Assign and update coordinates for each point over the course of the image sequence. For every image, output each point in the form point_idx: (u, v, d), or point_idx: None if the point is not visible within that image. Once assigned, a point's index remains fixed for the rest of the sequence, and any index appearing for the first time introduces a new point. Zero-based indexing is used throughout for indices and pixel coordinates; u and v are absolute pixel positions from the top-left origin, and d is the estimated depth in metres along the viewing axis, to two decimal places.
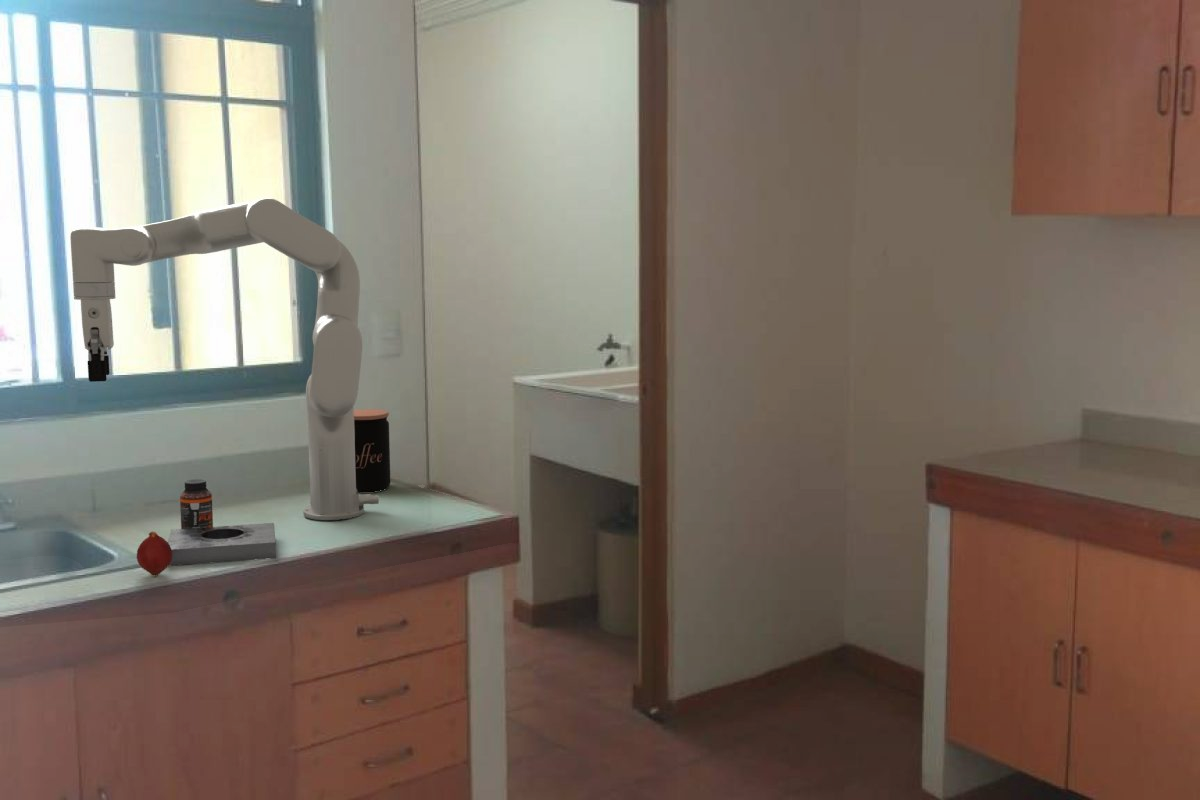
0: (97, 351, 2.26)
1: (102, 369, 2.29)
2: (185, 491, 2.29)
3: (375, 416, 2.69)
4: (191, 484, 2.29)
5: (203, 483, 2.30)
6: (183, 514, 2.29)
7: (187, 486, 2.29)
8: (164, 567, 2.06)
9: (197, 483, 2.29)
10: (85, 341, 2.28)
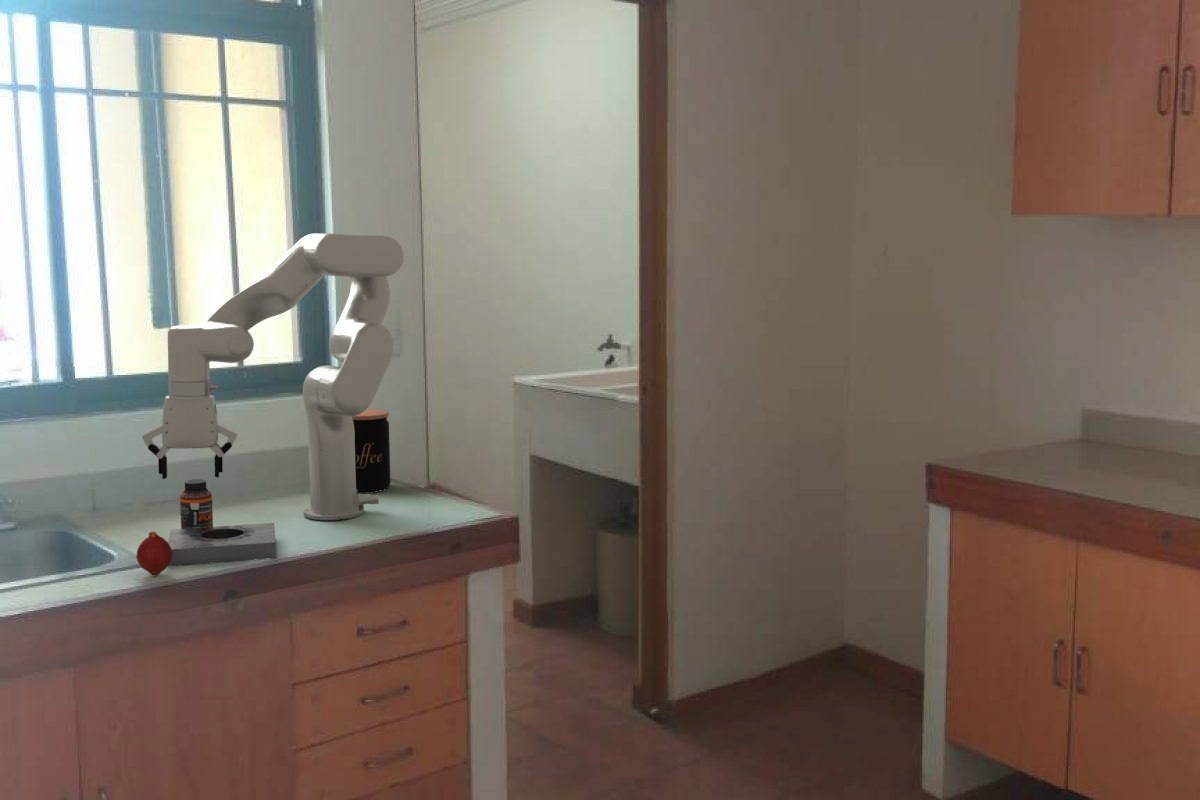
0: None
1: None
2: (185, 491, 2.29)
3: (375, 416, 2.69)
4: (191, 484, 2.29)
5: (203, 483, 2.30)
6: (183, 514, 2.29)
7: (187, 486, 2.29)
8: (164, 567, 2.06)
9: (197, 483, 2.29)
10: (216, 438, 2.29)
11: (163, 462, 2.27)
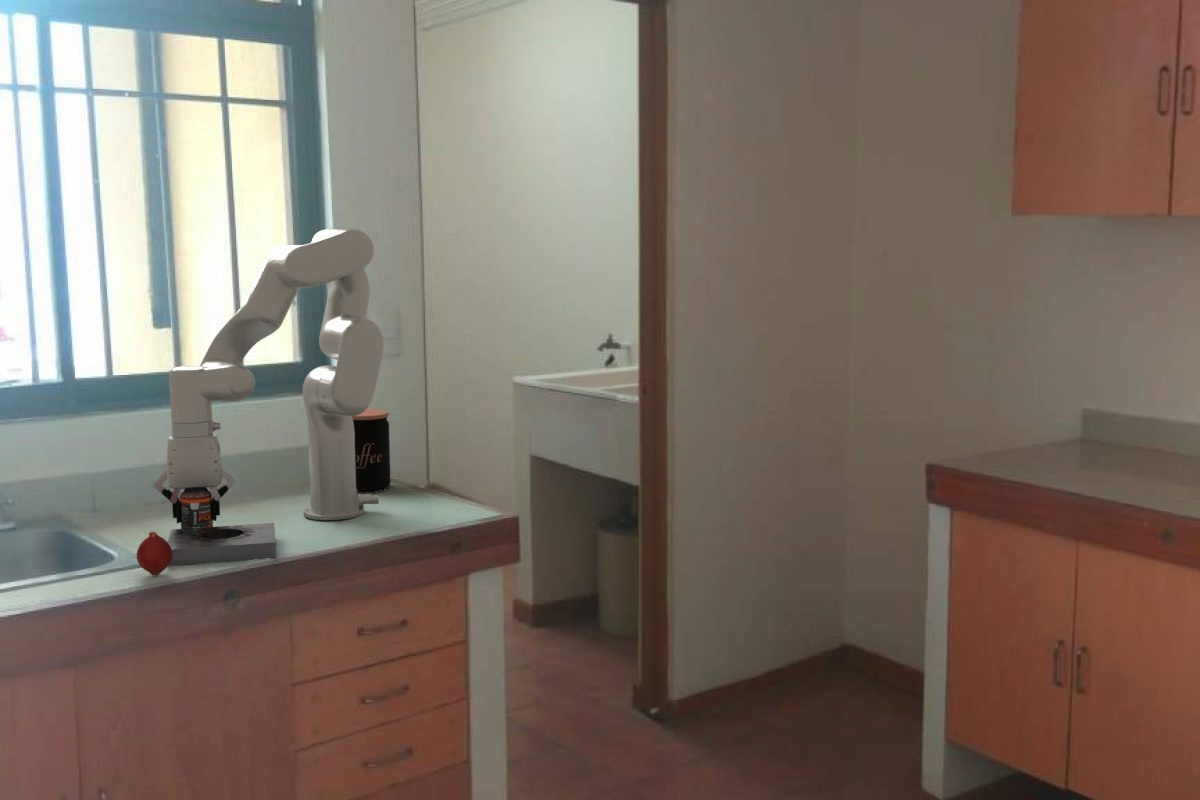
0: None
1: None
2: (185, 491, 2.29)
3: (375, 416, 2.69)
4: None
5: None
6: (183, 514, 2.29)
7: None
8: (164, 567, 2.06)
9: None
10: (220, 477, 2.30)
11: (177, 507, 2.29)
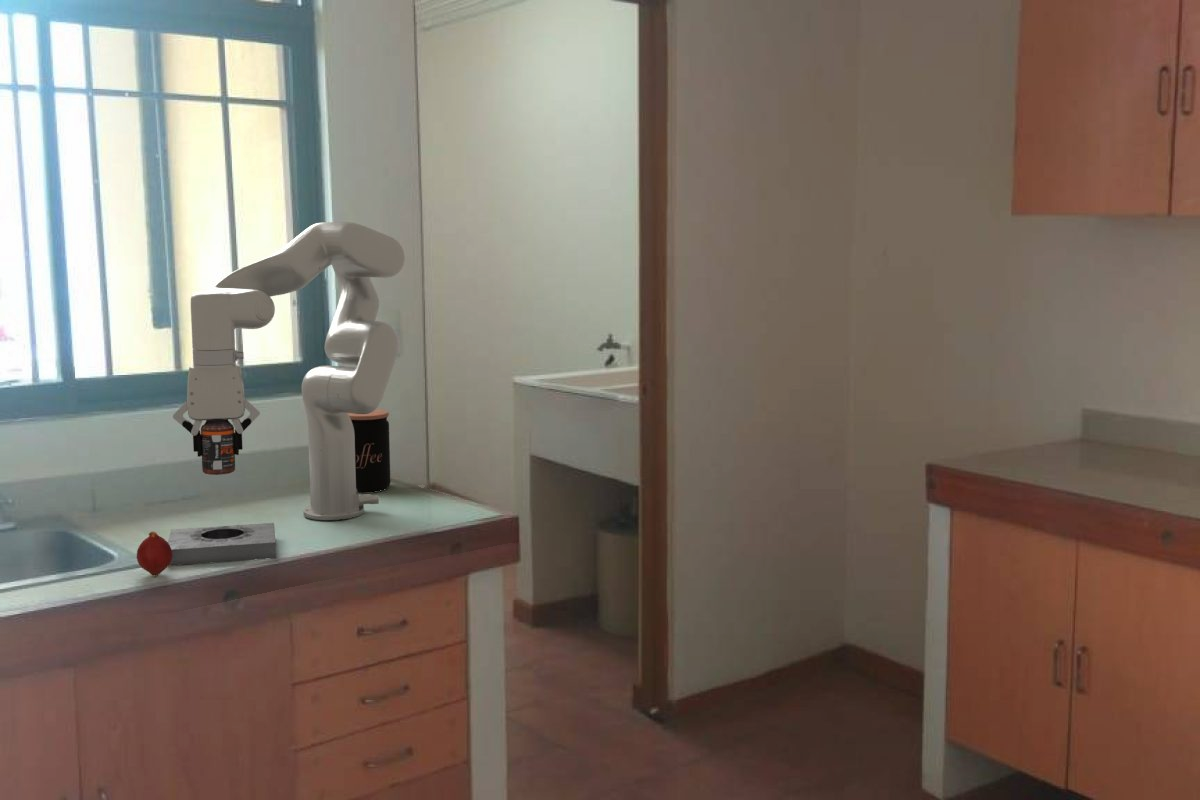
0: None
1: None
2: (206, 423, 2.19)
3: (375, 416, 2.69)
4: None
5: None
6: (204, 447, 2.18)
7: None
8: (164, 567, 2.06)
9: None
10: (243, 409, 2.19)
11: (198, 439, 2.18)
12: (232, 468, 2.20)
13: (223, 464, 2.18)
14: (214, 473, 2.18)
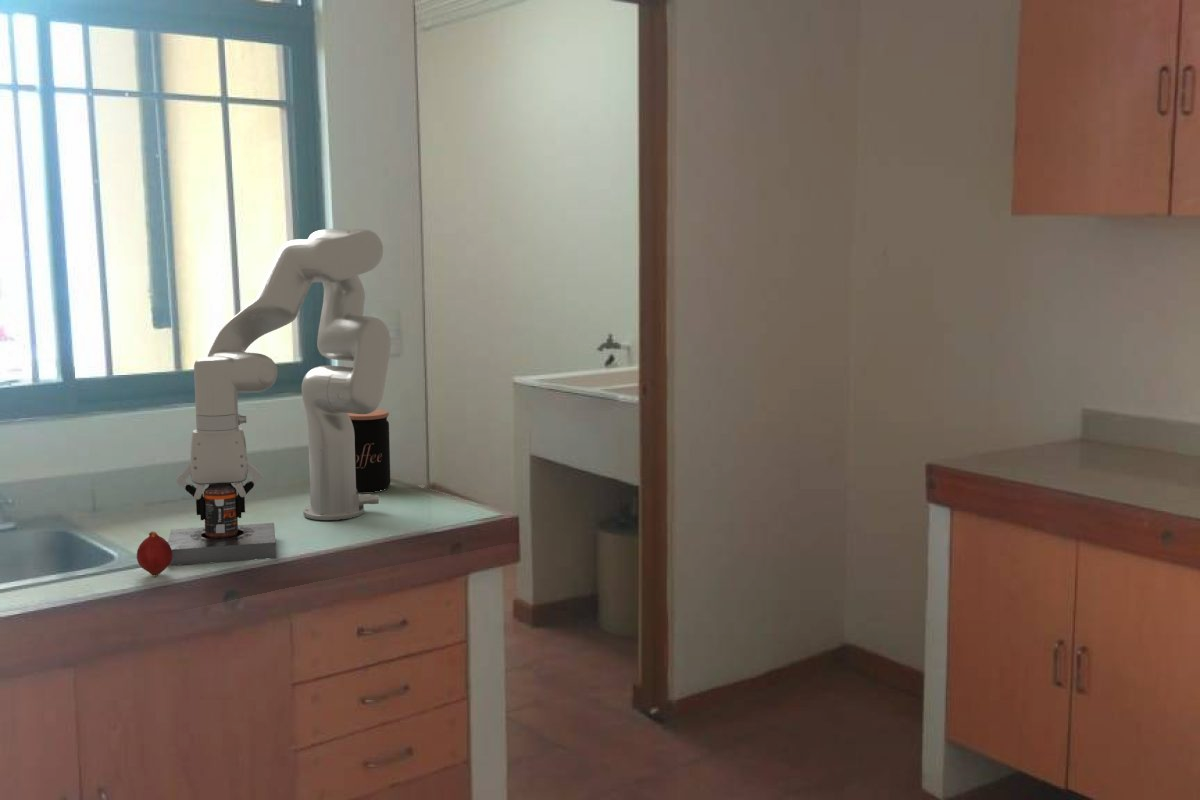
0: None
1: None
2: (209, 487, 2.20)
3: (375, 416, 2.69)
4: None
5: None
6: (207, 510, 2.20)
7: None
8: (164, 567, 2.06)
9: None
10: (246, 472, 2.21)
11: (201, 503, 2.20)
12: (235, 531, 2.22)
13: (225, 527, 2.20)
14: (217, 537, 2.20)
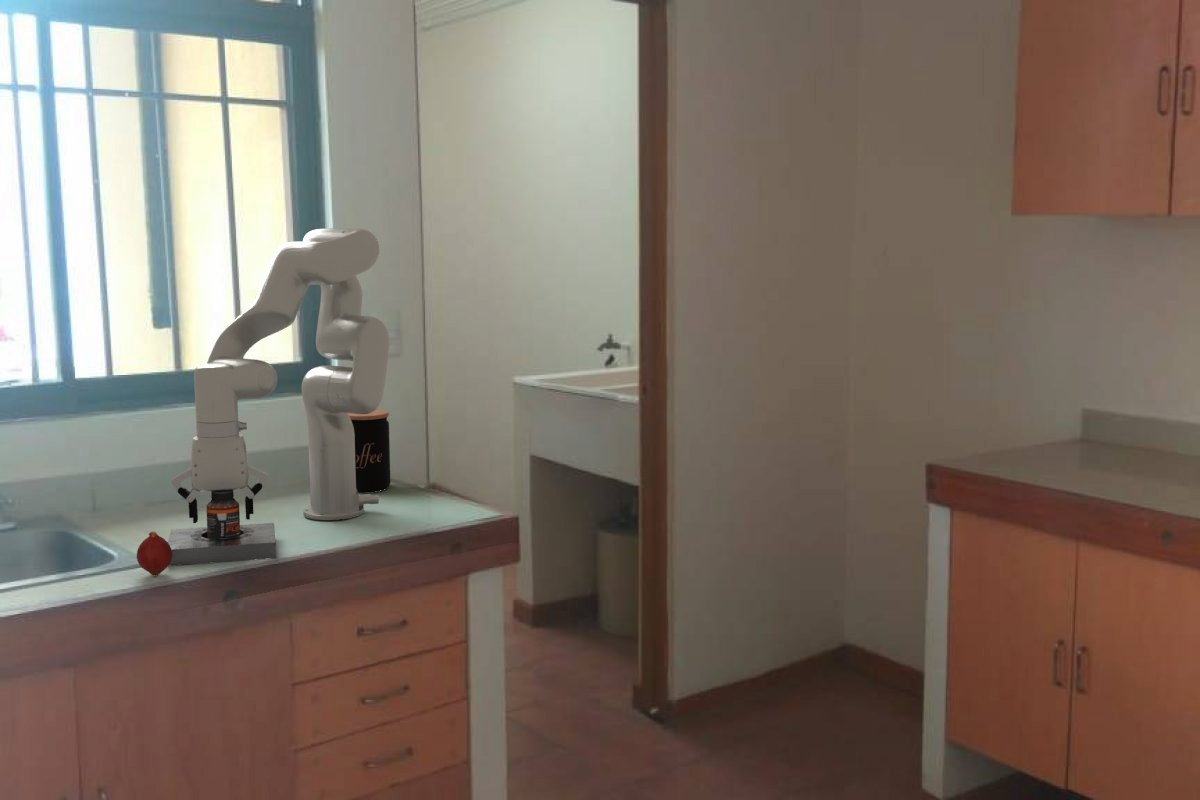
0: None
1: None
2: (212, 501, 2.21)
3: (375, 416, 2.69)
4: (218, 494, 2.20)
5: (230, 493, 2.21)
6: (209, 525, 2.21)
7: (214, 496, 2.20)
8: (164, 567, 2.06)
9: (224, 493, 2.21)
10: (246, 479, 2.21)
11: (193, 506, 2.19)
12: None
13: None
14: None
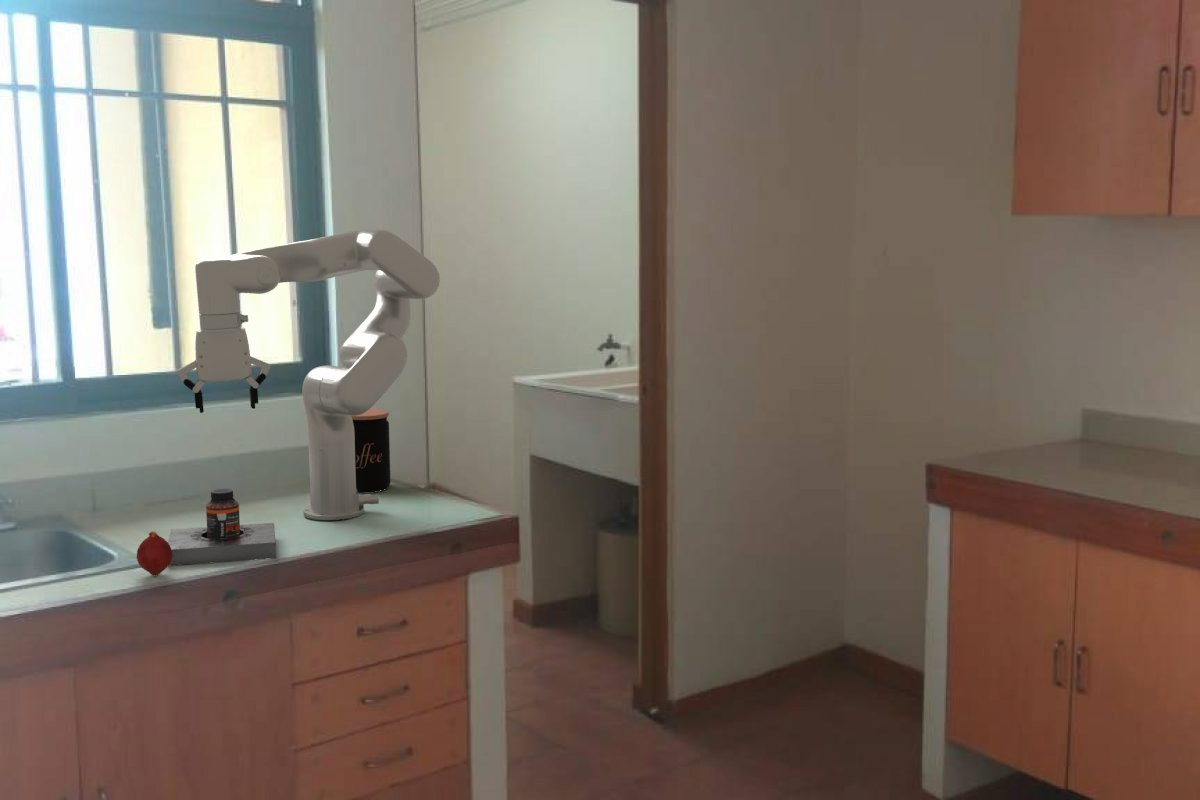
0: None
1: None
2: (211, 501, 2.21)
3: (375, 416, 2.69)
4: (218, 494, 2.20)
5: (230, 493, 2.21)
6: (209, 525, 2.21)
7: (214, 496, 2.20)
8: (164, 567, 2.06)
9: (224, 493, 2.21)
10: (250, 369, 2.29)
11: (200, 396, 2.27)
12: None
13: None
14: None
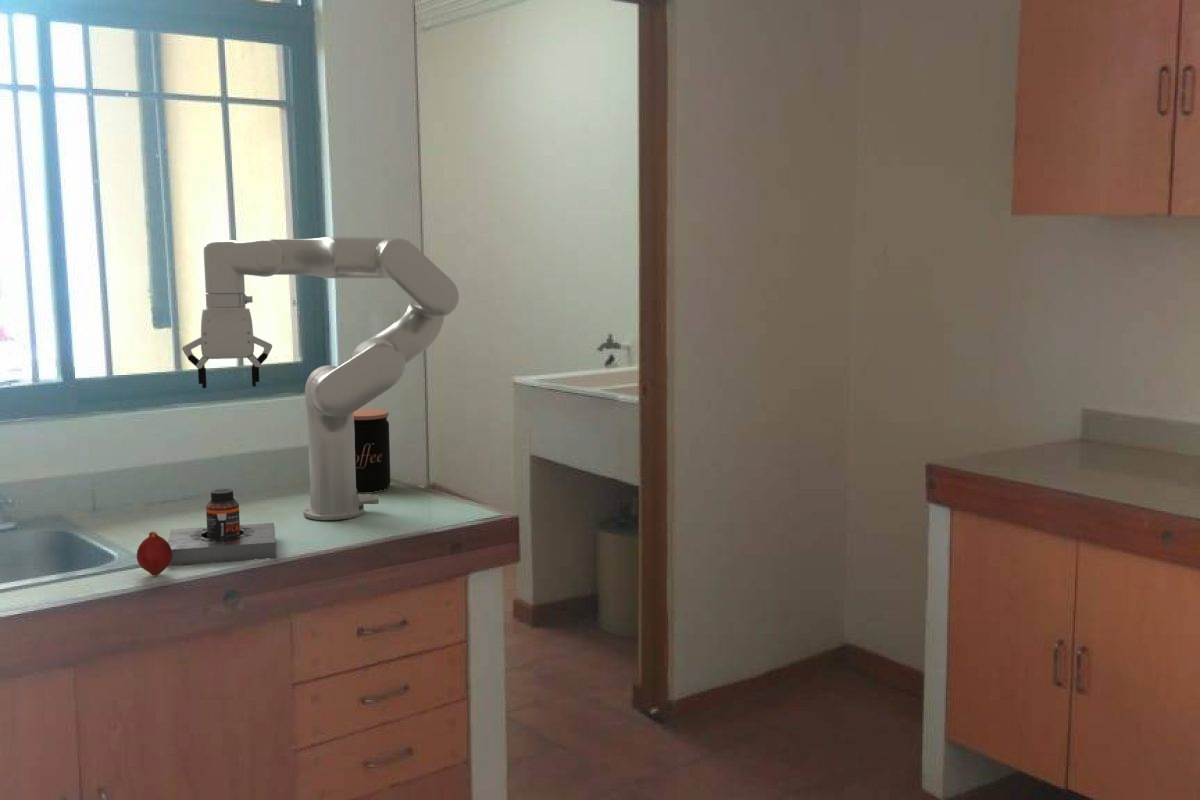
0: None
1: None
2: (211, 501, 2.21)
3: (375, 416, 2.69)
4: (218, 494, 2.20)
5: (230, 493, 2.21)
6: (209, 525, 2.21)
7: (214, 496, 2.20)
8: (164, 567, 2.06)
9: (224, 493, 2.21)
10: (252, 348, 2.38)
11: (203, 372, 2.36)
12: None
13: None
14: None
